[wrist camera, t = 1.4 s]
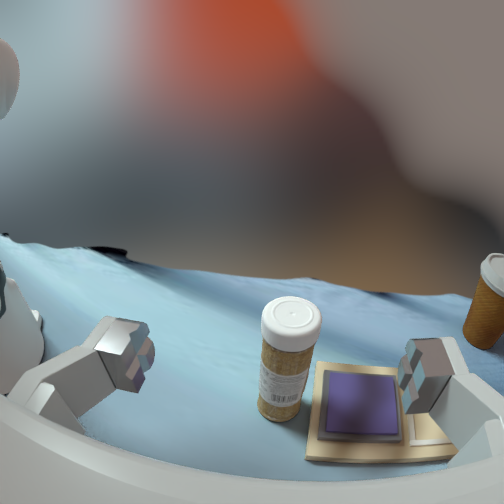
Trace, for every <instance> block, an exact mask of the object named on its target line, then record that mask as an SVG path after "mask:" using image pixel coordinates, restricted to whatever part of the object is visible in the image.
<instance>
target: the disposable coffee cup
mask: <svg viewBox="0 0 504 504" xmlns="http://www.w3.org/2000/svg"><path fill="white" fill-rule="evenodd" d="M503 332H504V254H499V253H492V254H490V255H488V257H487V258H486V260H484V261H483V262H482V264H481V275H480V279H479V282H478V285H477V288H476V292H475V295H474V298H473V301H472V304H471V306H470V309H469V312H468V315H467V318H466V320H465V323H464V325H463V334H464V336H465V338H466V339H467V340H468V342H469V343H471V344H472V345H473V346H475V347H477V348H480V349H489V348H491V347H492V346H493V345H494V344H495V342H496V341H497V340H498V339H499V337H500V336H501V335H502V334H503Z"/></svg>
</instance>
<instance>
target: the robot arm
mask: <svg viewBox="0 0 504 504" xmlns="http://www.w3.org/2000/svg"><path fill="white" fill-rule="evenodd" d="M19 74H20V73H19V64H18V60H17V57H16V55H15V53H14V51H13V49H12V48H11V47H10V45H9V44H8V43H7V42H5V41H4V40H2V39H1V38H0V120H2V119H4V118H5V116H6V115H7V113H8V112H9V110H10V108H11V106H12V104H13V102H14V100H15V97H16V94H17V90H18V86H19V76H20V75H19ZM41 322H42V317H41V315H40V313H39V312H38V311H36V310H31V309H30V308H29V306H28V304H27V302H26V300H25V299H24V297H23V295H22V293H21V291H20V289H19V287H18V285H17V283H16V282H15V281H14V280H13V279H10V278H6V275H5V273H4V270H3V266H2V263H1V261H0V504H504V397H503V396H502V395H500V394H499V393H498V392H497V391H495V390H494V389H493V388H492V387H491V386H489V385H488V384H487V383H486V382H484V381H483V380H482V379H481V378H479V377H478V376H477V375H475V374H474V373H470V372H469V370H468V368H467V365H466V363H465V361H464V358H463V356H462V354H461V352H460V349H459V347H458V345H457V343H456V341H455V339H454V338H453V337H439V338H421V339H410V340H409V341H408V342H407V345H406V347H405V349H406V353H407V354H406V355H405V356H403V357H402V358H401V360H400V363H399V366H398V373H397V376H398V384H399V387H400V388H401V389H402V390H403V391H404V393H403V395H402V397H401V399H402V403H403V408H404V413H405V415H406V414H421V413H429V415H430V417H431V418H432V419H433V420H434V421H435V423H436V424H437V425H438V426H439V427H440V429H441V430H442V431H443V432H444V433H445V435H446V436H447V437H448V438H449V439H450V441H451V442H452V443H453V444H454V446H455V447H456V448H457V449H458V450H459V452H458V453H457V454H456V455H455V456H454V457H453V458H452V459H451V460H450V461H449V462H448V464H447V466H448V468H447V469H443V470H438V471H433V472H427V473H421V474H415V475H408V476H401V477H393V478H383V479H372V480H358V481H288V480H273V479H262V478H252V477H244V476H236V475H229V474H223V473H217V472H211V471H206V470H200V469H195V468H190V467H186V466H181V465H177V464H173V463H169V462H165V461H161V460H157V459H153V458H150V457H146V456H143V455H139V454H136V453H133V452H130V451H126V450H123V449H120V448H117V447H114V446H112V445H109V444H106V443H103V442H100V441H98V440H95V439H92V438H90V437H87V436H85V435H84V433H85V429H84V427H83V426H82V424H81V423H80V422H79V420H78V419H77V418H79V417H80V416H81V415H83V414H84V413H86V412H87V411H88V410H90V409H91V408H92V407H94V406H95V405H96V404H98V403H99V402H100V401H102V400H103V399H104V398H106V397H107V396H108V395H110V394H111V393H112V392H114V391H115V390H116V389H120V390H125V391H129V392H134V393H138V392H139V390H140V388H141V386H142V384H143V382H144V380H145V376H144V372H146V371H147V370H149V369H150V368H151V366H152V364H153V362H154V356H155V348H154V344H153V342H152V341H151V340H150V339H149V338H148V337H147V336H148V334H149V332H150V331H149V328H148V325H147V324H146V323H144V322H139V321H133V320H128V319H123V318H116V317H111V316H105V317H103V318H102V319H101V320H100V322H99V323H98V324H97V326H96V327H95V328H94V329H93V331H92V332H91V333H90V335H89V336H88V337H87V339H86V340H85V341H84V343H83V344H82V345H81V346H78V345H77V346H75V347H73V348H72V349H70V350H68V351H66V352H64V353H62V354H60V355H58V356H56V357H54V358H52V359H50V360H48V361H46V362H44V363H42V364H40V365H39V363H40V361H41V359H42V356H43V351H44V339H43V336H42V333H41V330H40V327H41ZM115 388H116V389H115ZM9 392H10V393H9ZM7 393H9V394H8V396H7V397H5V396H4V394H7Z"/></svg>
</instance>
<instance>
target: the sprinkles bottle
mask: <svg viewBox="0 0 504 504" xmlns="http://www.w3.org/2000/svg"><path fill="white" fill-rule="evenodd" d="M321 323H322V316H321V313H320V311H319V309H318V308H317V307H316V306H315V305H314V304H313V303H311V302H310V301H308V300H306V299H303V298H299V297H293V296H287V297H280V298H277V299H275V300H273V301H271V302H270V303H268V304H267V305H266V306H265V308H264V310H263V313H262V321H261V333H262V337H263V343H262V353H261V365H260V380H259V398H258V402H257V406H258V410H259V412H260V413H261V414H262V415H263V416H264V417H265V418H267V419H269V420H271V421H276V422H283V421H287V420H290V419H292V418H293V417H294V416H295V415H296V414H297V413H298V412H299V410H300V405H301V403H300V402H301V398H302V394H303V392H304V390H305V386H306V382H307V378H308V374H309V368H310V363H311V358H312V355H313V349H314V345H315V343H316V341H317V339H318V337H319V334H320V329H321Z"/></svg>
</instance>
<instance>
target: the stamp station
mask: <svg viewBox="0 0 504 504" xmlns="http://www.w3.org/2000/svg"><path fill="white" fill-rule="evenodd" d="M397 373H398V368H390V367H375V366H362V365H351V364H341V363H331V362H322V361H317V363H316V367H315V377H314V387H313V397H312V406H311V415H310V423H309V431H308V439H307V446H306V453H305V460H314V461H326V462H342V463H407V462H423V461H435V460H444V459H452V458H453V457H454V456H455V455H456V454H457V453H458V452H459V450H458V449H457V448H456V447H455V446H454V444H453V443H452V442H451V441H450V439H449V438H448V437H447V436H446V435H445V433H444V432H443V431H442V430H441V429H440V427H439V426H438V425H437V424H436V423H435V421H434V420H433V419H432V418H431V417H430V415H429V413H421V414H406V415H405V413H404V408H403V403H402V399H401V397H402V395H403V393H404V391H403V390H402V389H401V388H400V387H399V384H398V376H397Z"/></svg>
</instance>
